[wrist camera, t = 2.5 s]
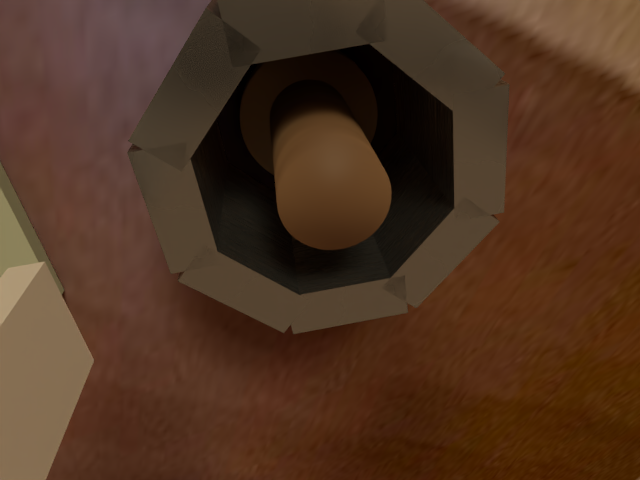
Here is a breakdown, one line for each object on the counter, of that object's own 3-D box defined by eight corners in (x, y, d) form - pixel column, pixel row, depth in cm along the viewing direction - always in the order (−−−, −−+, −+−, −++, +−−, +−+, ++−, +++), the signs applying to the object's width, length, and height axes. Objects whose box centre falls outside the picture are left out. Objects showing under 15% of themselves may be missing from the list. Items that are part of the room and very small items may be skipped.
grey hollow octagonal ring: (213, 243, 23) (199, 351, 17) (139, -5, 18) (80, 23, 12) (435, 202, 23) (500, 295, 17) (426, -55, 18) (514, -52, 12)
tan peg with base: (255, 183, 22) (256, 298, 15) (226, 55, 19) (210, 121, 12) (378, 162, 22) (435, 264, 15) (365, 31, 19) (428, 82, 12)
